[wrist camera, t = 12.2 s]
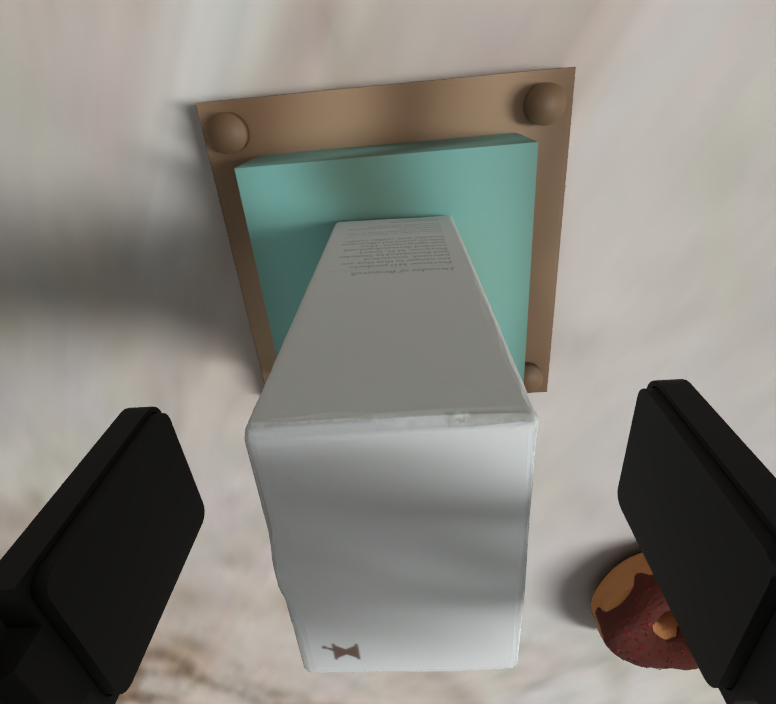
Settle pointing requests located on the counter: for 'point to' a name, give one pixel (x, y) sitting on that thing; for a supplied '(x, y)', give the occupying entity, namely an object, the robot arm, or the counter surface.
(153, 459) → the robot arm
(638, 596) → the donut
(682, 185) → the counter surface
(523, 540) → the skincare box
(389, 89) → the tower base
